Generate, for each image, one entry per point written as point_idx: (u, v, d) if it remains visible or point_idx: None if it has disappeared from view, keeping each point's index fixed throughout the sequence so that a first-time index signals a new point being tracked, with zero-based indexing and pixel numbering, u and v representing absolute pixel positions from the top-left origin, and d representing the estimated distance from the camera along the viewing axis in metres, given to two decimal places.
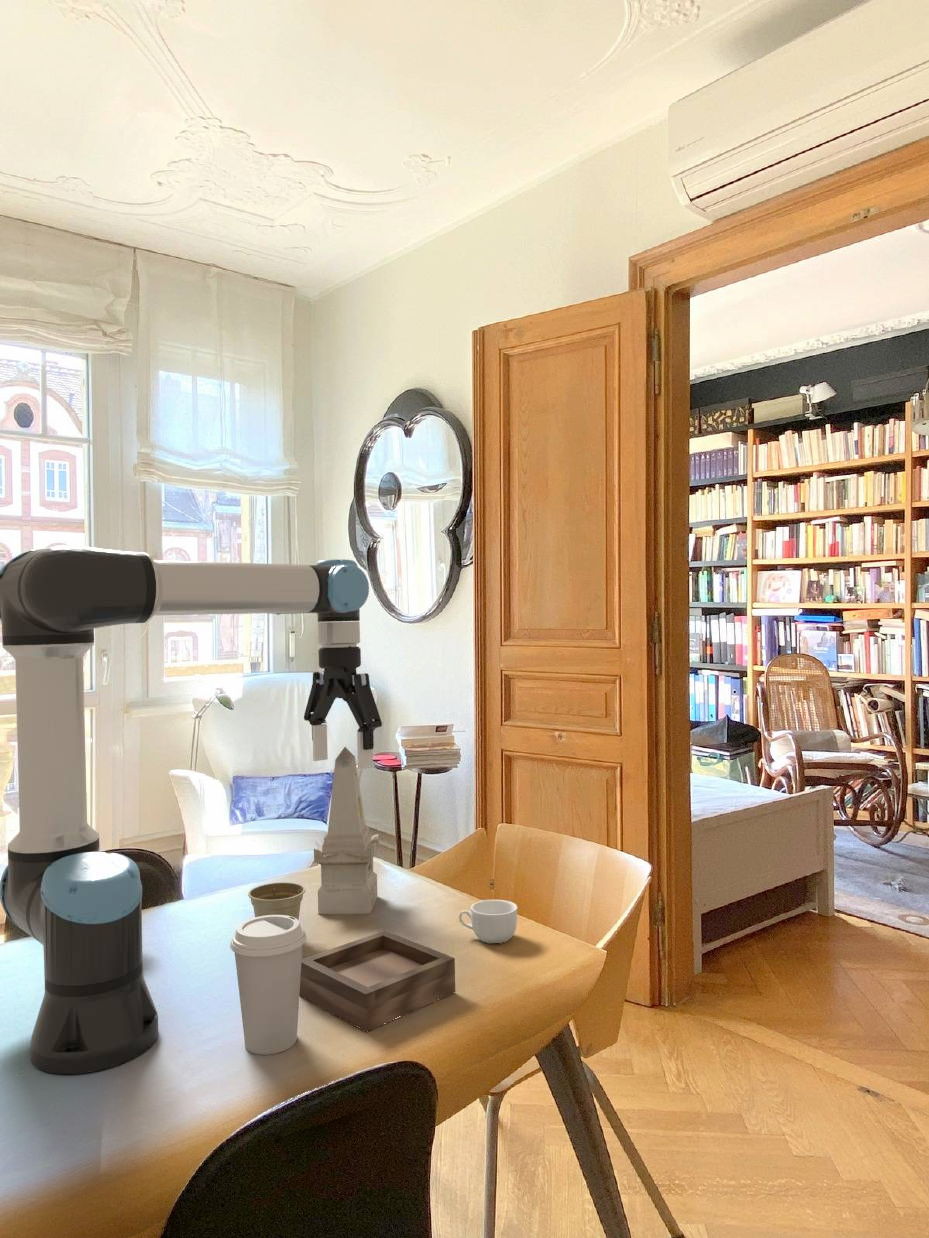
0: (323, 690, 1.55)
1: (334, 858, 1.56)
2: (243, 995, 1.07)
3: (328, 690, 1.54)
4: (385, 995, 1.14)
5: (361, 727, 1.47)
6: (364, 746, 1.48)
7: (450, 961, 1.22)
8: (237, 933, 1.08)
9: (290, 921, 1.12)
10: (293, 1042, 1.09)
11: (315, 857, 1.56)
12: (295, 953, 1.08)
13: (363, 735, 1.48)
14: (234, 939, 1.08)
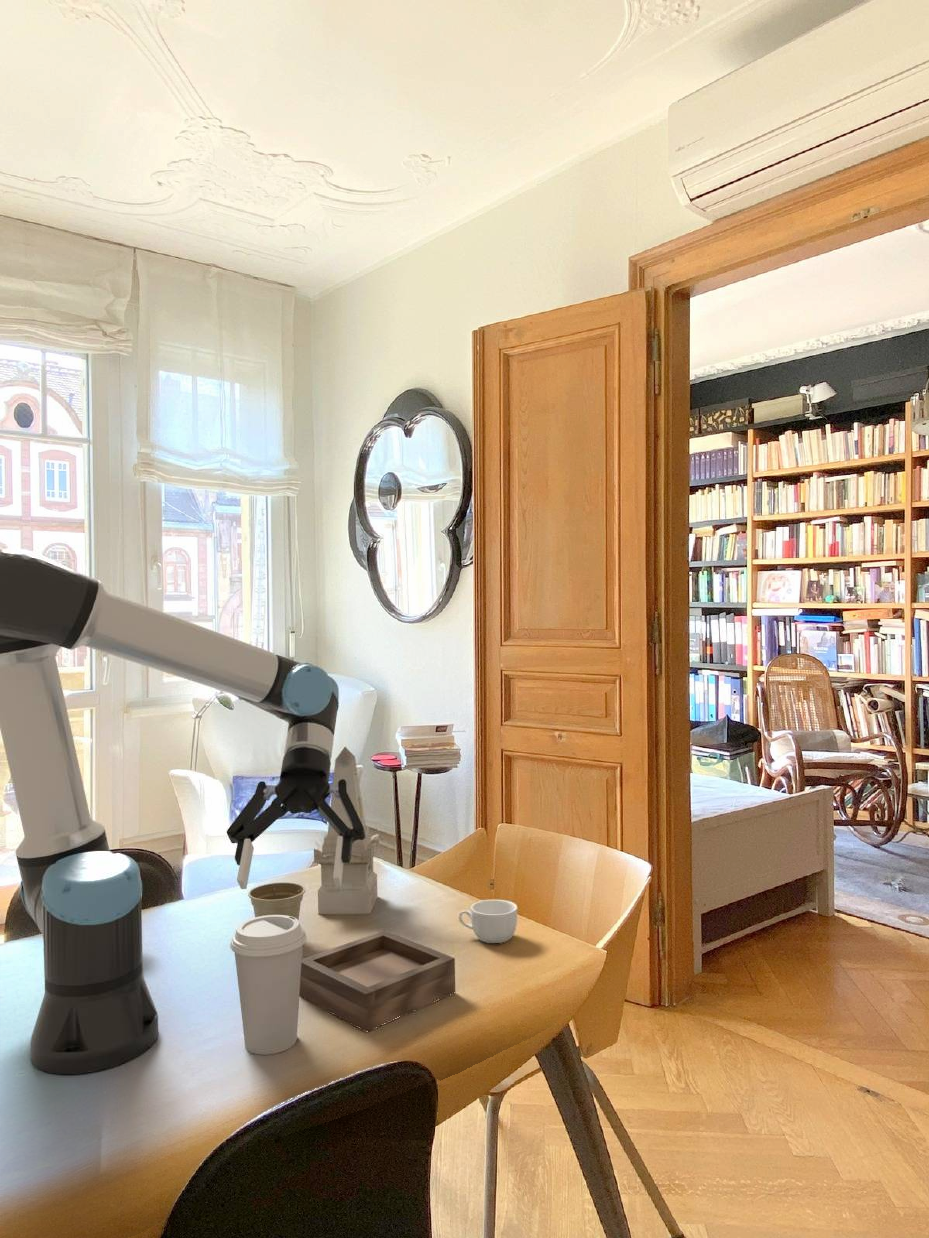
0: (280, 796, 1.29)
1: (334, 858, 1.56)
2: (243, 995, 1.07)
3: (287, 797, 1.30)
4: (385, 995, 1.14)
5: (350, 829, 1.25)
6: (344, 854, 1.23)
7: (450, 961, 1.22)
8: (237, 933, 1.08)
9: (290, 921, 1.12)
10: (293, 1042, 1.09)
11: (315, 857, 1.56)
12: (295, 953, 1.08)
13: (344, 842, 1.25)
14: (234, 939, 1.08)
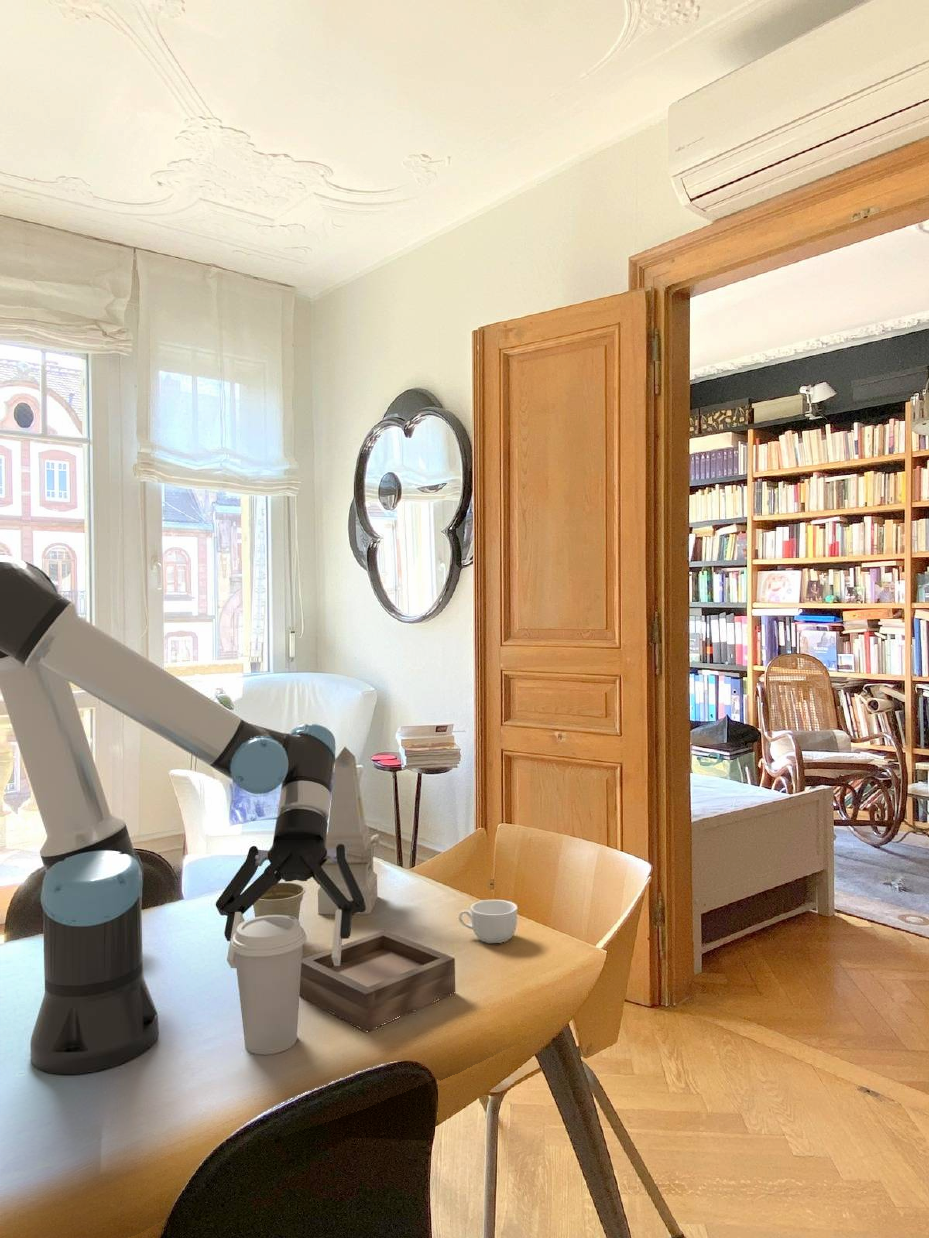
0: (273, 864, 1.20)
1: None
2: (243, 995, 1.07)
3: (281, 865, 1.20)
4: (385, 995, 1.14)
5: (349, 901, 1.16)
6: (343, 930, 1.14)
7: (450, 961, 1.22)
8: (237, 933, 1.08)
9: (290, 921, 1.12)
10: (293, 1042, 1.09)
11: None
12: (295, 953, 1.08)
13: (343, 916, 1.15)
14: (234, 939, 1.08)
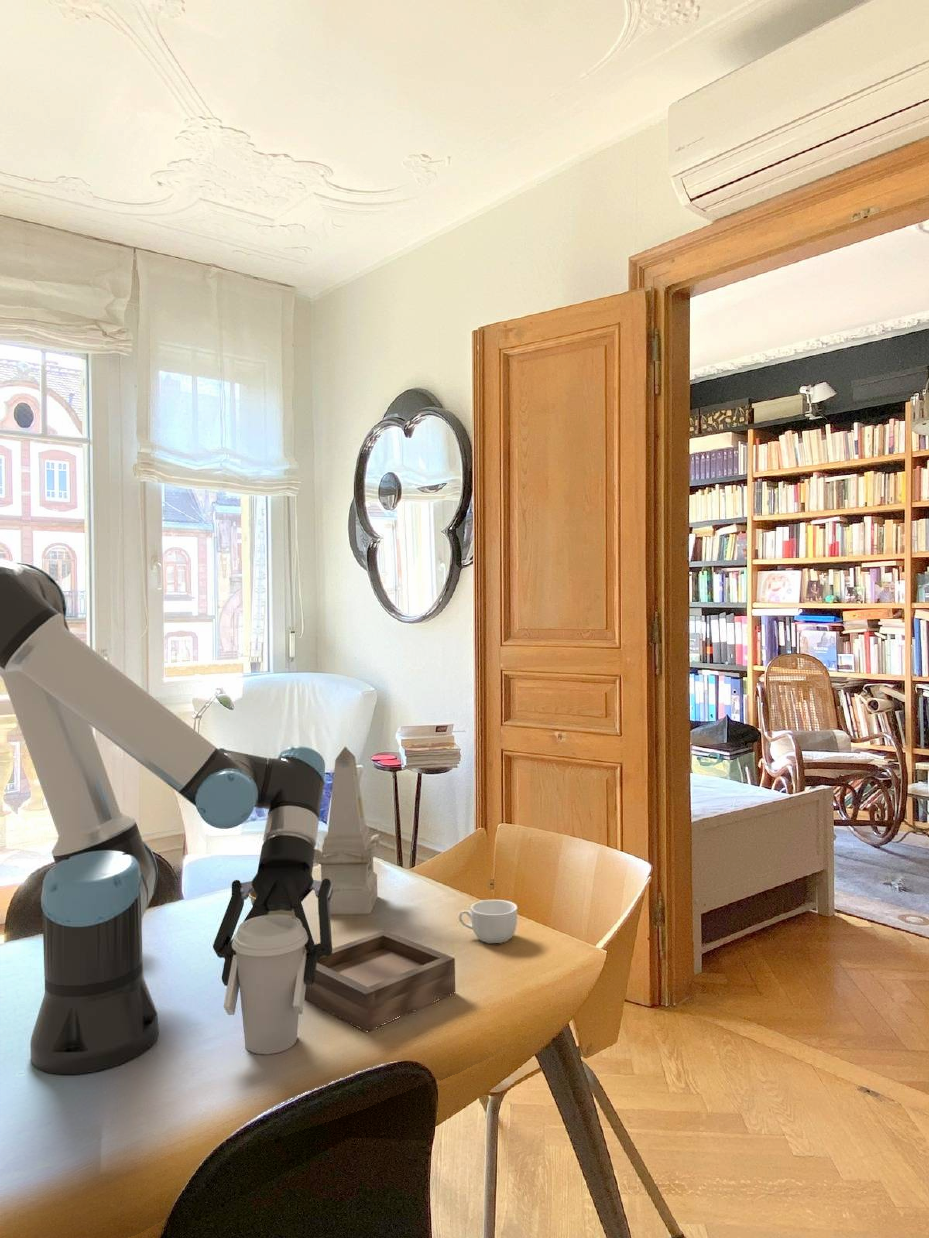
0: (261, 895, 1.16)
1: (334, 858, 1.56)
2: (244, 994, 1.07)
3: (269, 894, 1.16)
4: (385, 995, 1.14)
5: (314, 946, 1.10)
6: (307, 976, 1.09)
7: (450, 961, 1.22)
8: (238, 933, 1.08)
9: (292, 921, 1.12)
10: (293, 1042, 1.09)
11: (315, 857, 1.56)
12: (297, 953, 1.08)
13: (307, 961, 1.10)
14: (236, 938, 1.08)
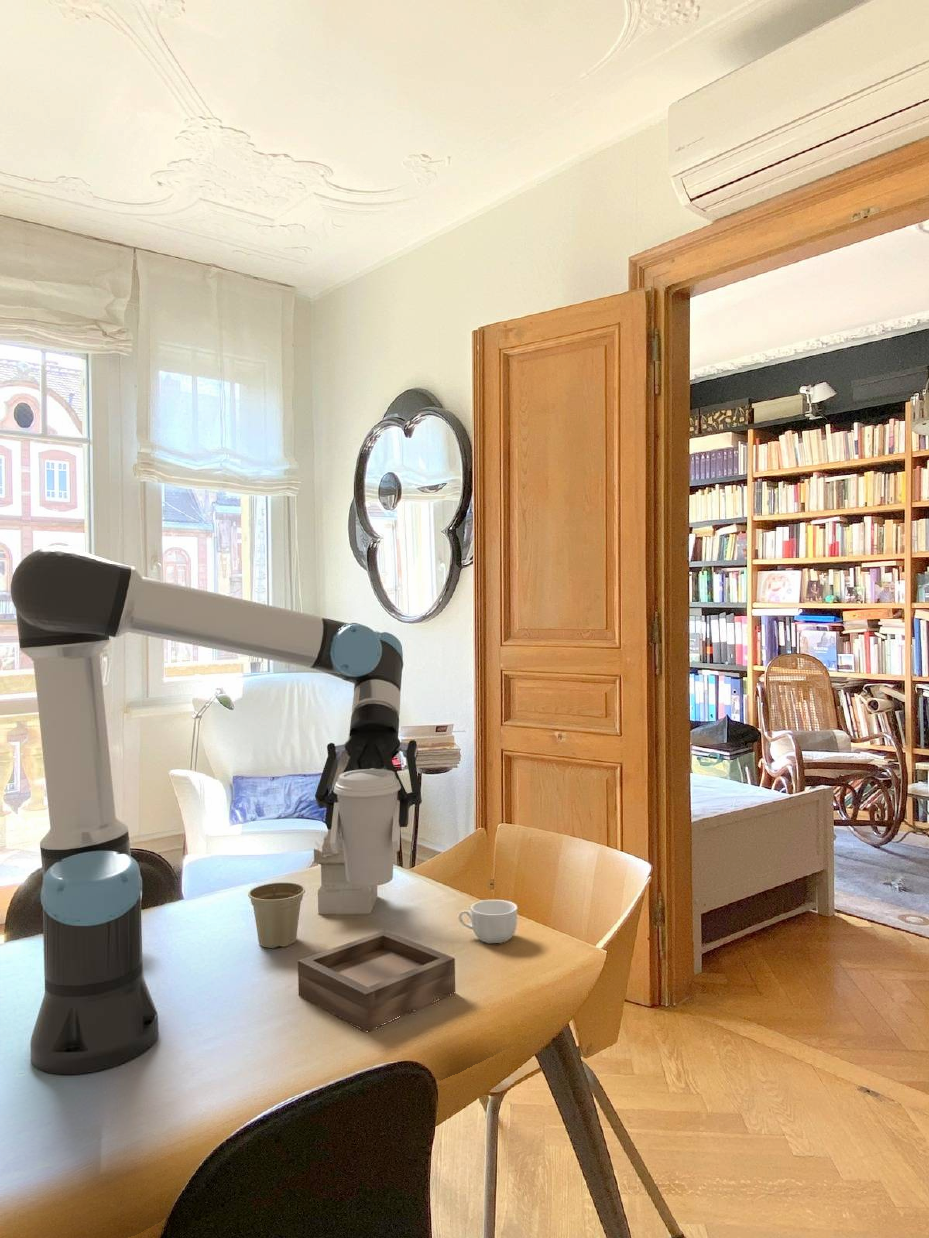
0: (354, 754, 1.27)
1: (334, 858, 1.56)
2: (346, 834, 1.19)
3: (362, 754, 1.28)
4: (385, 995, 1.14)
5: (407, 794, 1.22)
6: (401, 818, 1.21)
7: (450, 961, 1.22)
8: (340, 779, 1.20)
9: (385, 773, 1.24)
10: (390, 878, 1.21)
11: (315, 857, 1.56)
12: (393, 797, 1.20)
13: (401, 806, 1.22)
14: (337, 784, 1.20)
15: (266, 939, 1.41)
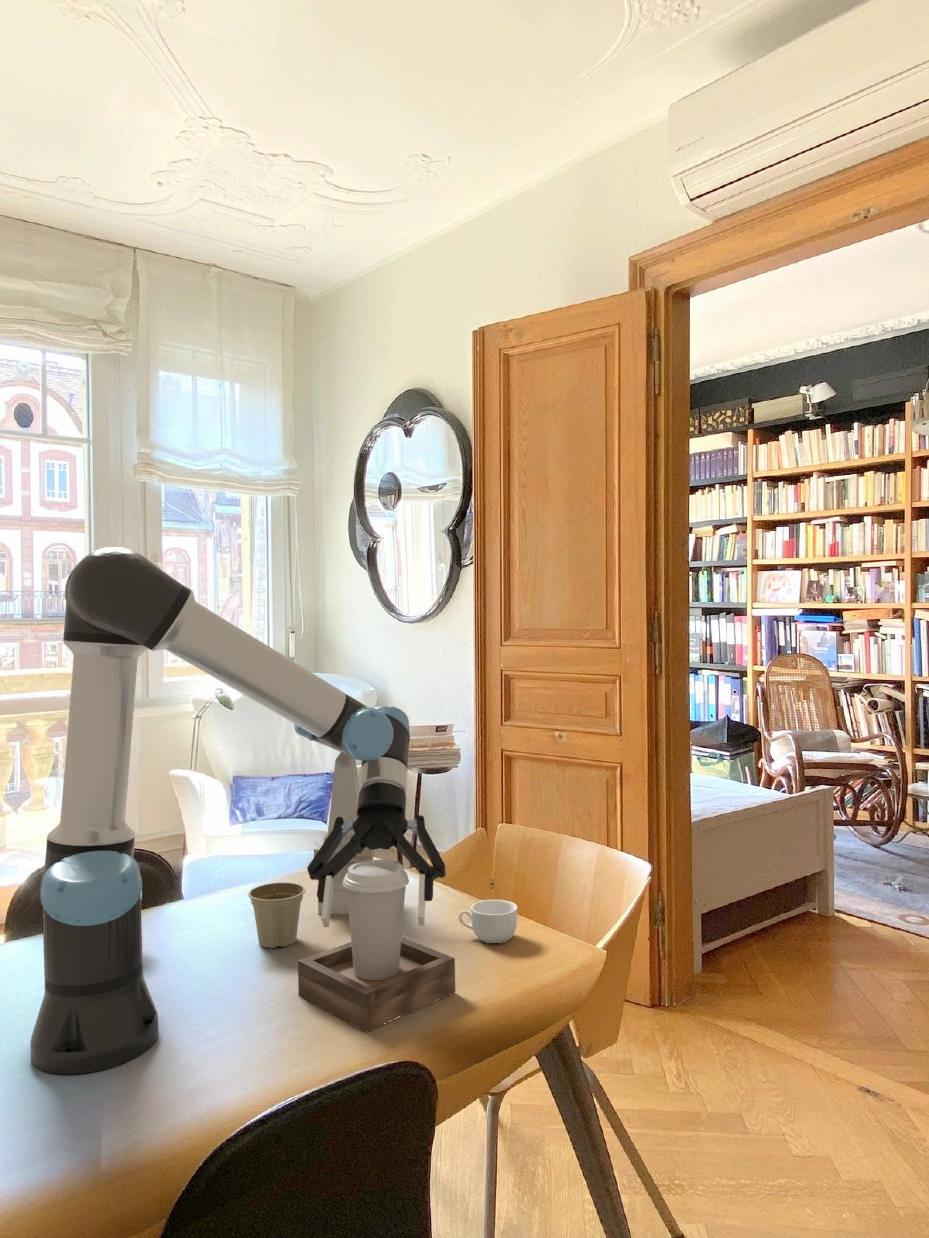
0: (359, 833, 1.29)
1: None
2: (355, 928, 1.21)
3: (366, 834, 1.29)
4: (385, 995, 1.14)
5: None
6: (427, 893, 1.23)
7: (450, 961, 1.22)
8: (349, 873, 1.22)
9: (393, 865, 1.26)
10: (397, 971, 1.23)
11: None
12: (401, 892, 1.22)
13: (426, 880, 1.24)
14: (347, 878, 1.22)
15: (266, 939, 1.41)
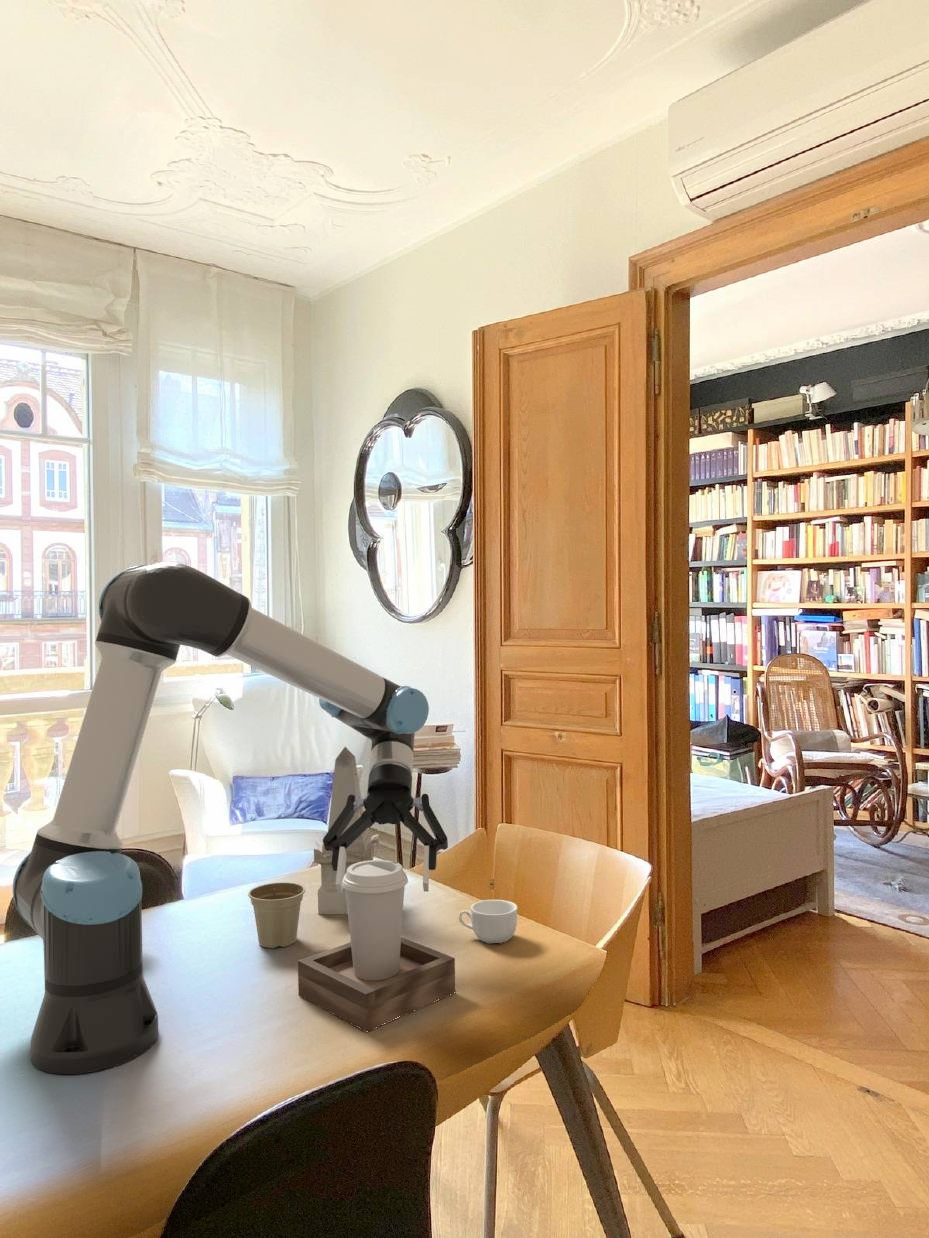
0: (369, 809, 1.42)
1: None
2: (354, 928, 1.21)
3: (376, 810, 1.42)
4: (385, 995, 1.14)
5: (435, 839, 1.38)
6: (431, 862, 1.36)
7: (450, 961, 1.22)
8: (348, 874, 1.22)
9: (392, 865, 1.26)
10: (397, 971, 1.23)
11: (315, 857, 1.56)
12: (400, 892, 1.22)
13: (430, 851, 1.37)
14: (346, 879, 1.22)
15: (266, 939, 1.41)
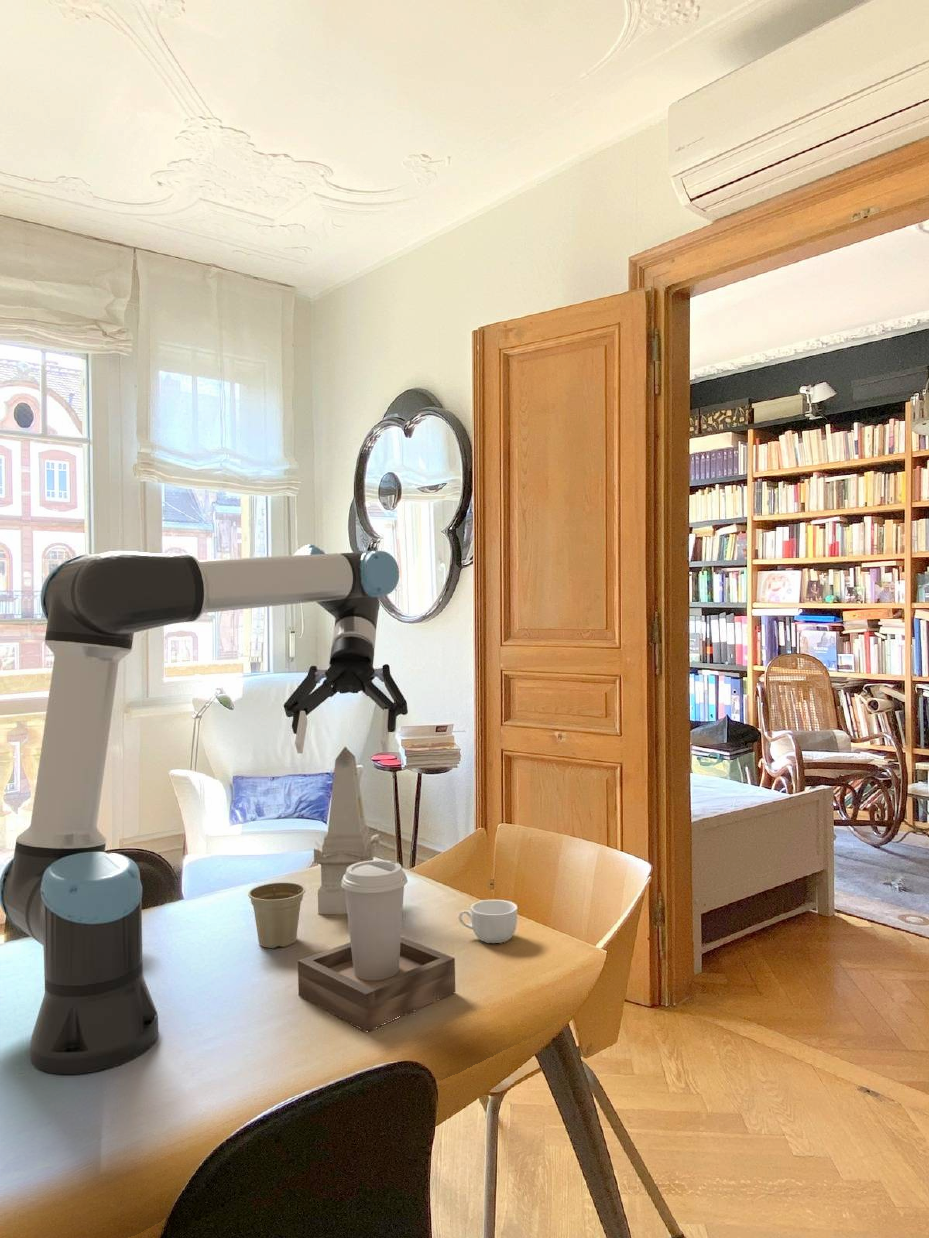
0: (330, 677, 1.44)
1: (334, 858, 1.56)
2: (354, 928, 1.21)
3: (337, 678, 1.44)
4: (385, 995, 1.14)
5: (394, 703, 1.40)
6: (390, 724, 1.38)
7: (450, 961, 1.22)
8: (347, 874, 1.22)
9: (392, 865, 1.26)
10: (397, 971, 1.23)
11: (315, 857, 1.56)
12: (399, 892, 1.22)
13: (389, 714, 1.39)
14: (345, 879, 1.22)
15: (266, 939, 1.41)
